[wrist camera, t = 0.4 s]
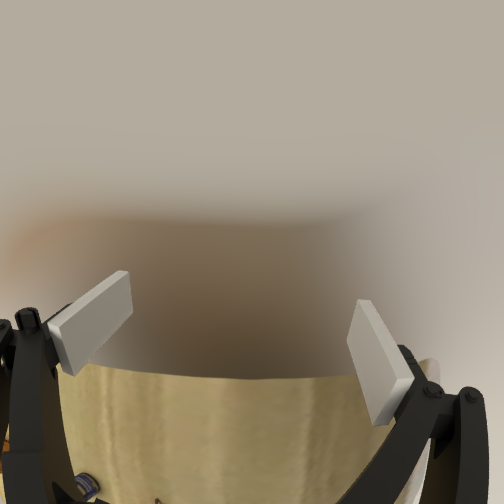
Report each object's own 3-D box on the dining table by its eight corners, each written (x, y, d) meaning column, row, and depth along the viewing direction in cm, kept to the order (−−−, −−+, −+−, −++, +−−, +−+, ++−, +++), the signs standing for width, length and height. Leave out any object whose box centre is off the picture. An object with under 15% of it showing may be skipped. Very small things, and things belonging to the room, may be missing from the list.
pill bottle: (102, 482, 37) (78, 500, 27) (98, 497, 35) (75, 515, 25) (80, 467, 38) (54, 482, 27) (77, 482, 36) (52, 498, 26)
